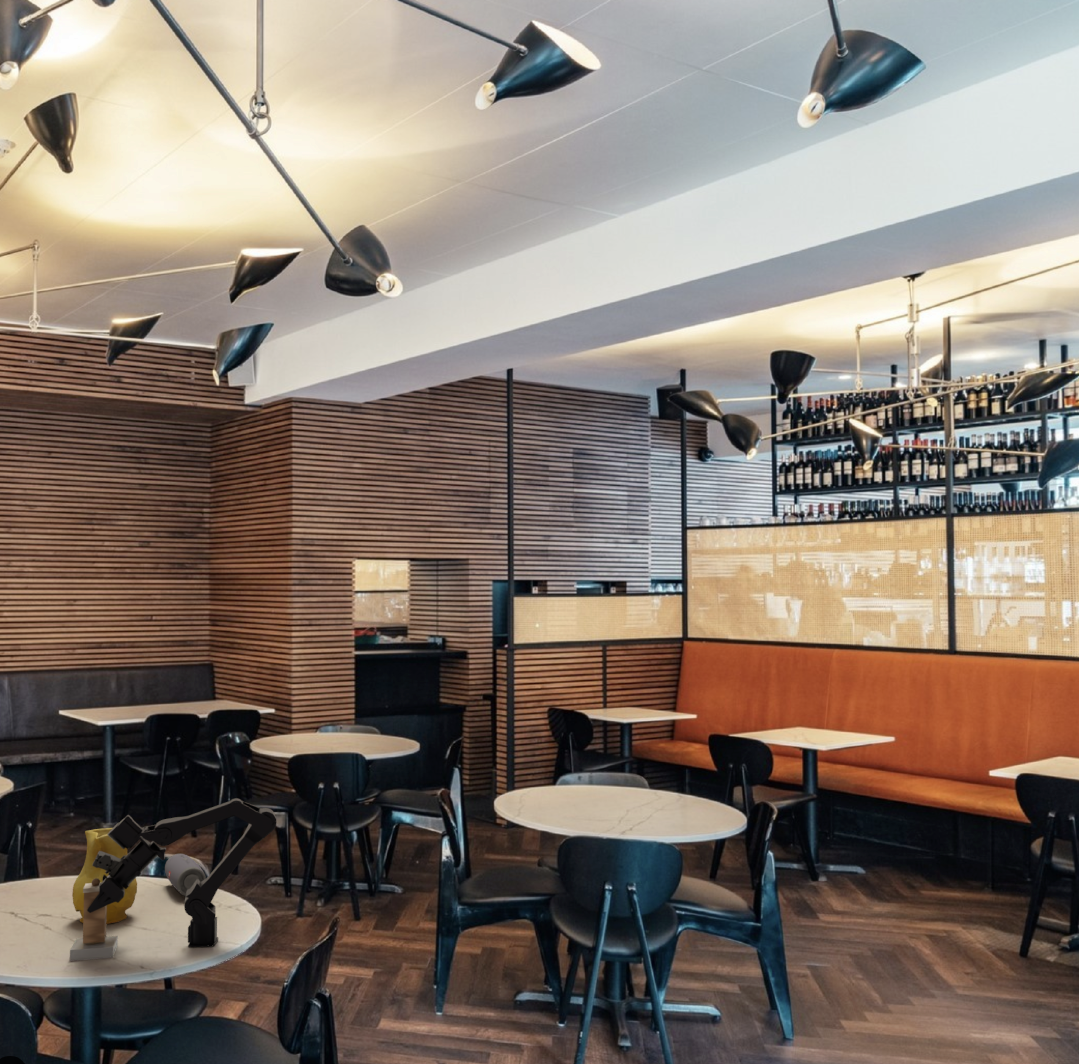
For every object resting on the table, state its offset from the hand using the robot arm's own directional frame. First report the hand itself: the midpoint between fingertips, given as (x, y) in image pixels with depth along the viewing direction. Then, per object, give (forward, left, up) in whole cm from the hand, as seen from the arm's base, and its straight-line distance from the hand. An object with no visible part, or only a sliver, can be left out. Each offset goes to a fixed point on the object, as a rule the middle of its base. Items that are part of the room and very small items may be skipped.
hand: (89, 908), depth 279 cm
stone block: (-1, 0, -12) cm, 12 cm away
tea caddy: (-1, 0, -8) cm, 8 cm away
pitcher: (+5, -32, -11) cm, 35 cm away
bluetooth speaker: (-11, -60, -11) cm, 62 cm away
